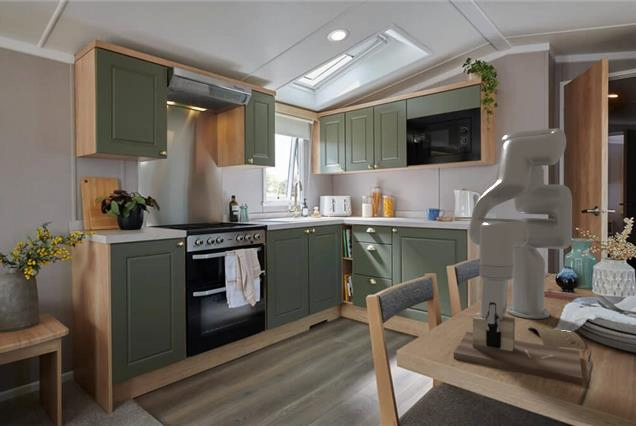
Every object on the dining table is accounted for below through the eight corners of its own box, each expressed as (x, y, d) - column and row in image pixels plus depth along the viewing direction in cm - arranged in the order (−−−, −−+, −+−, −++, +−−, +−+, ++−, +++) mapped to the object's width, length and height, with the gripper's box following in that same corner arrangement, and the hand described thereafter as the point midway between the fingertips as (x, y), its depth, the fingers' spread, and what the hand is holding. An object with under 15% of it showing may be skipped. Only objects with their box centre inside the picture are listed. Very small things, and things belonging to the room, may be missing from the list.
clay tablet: (526, 330, 114) (526, 321, 114) (563, 332, 113) (564, 323, 112) (545, 350, 100) (546, 340, 100) (589, 352, 98) (589, 342, 98)
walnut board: (466, 337, 108) (466, 331, 108) (578, 356, 94) (578, 350, 94) (453, 358, 95) (453, 352, 95) (582, 385, 81) (582, 378, 81)
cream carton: (476, 340, 102) (476, 312, 101) (514, 347, 97) (514, 317, 97) (472, 347, 98) (472, 317, 97) (512, 354, 93) (512, 323, 92)
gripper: (485, 264, 105) (484, 329, 106) (473, 276, 91) (472, 352, 92) (516, 266, 101) (515, 335, 102) (508, 279, 87) (507, 359, 88)
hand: (495, 342), depth 97 cm, fingers closed on cream carton, 5 cm apart
